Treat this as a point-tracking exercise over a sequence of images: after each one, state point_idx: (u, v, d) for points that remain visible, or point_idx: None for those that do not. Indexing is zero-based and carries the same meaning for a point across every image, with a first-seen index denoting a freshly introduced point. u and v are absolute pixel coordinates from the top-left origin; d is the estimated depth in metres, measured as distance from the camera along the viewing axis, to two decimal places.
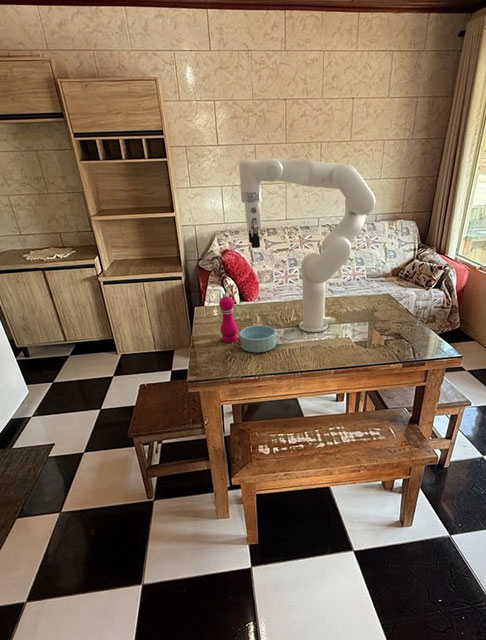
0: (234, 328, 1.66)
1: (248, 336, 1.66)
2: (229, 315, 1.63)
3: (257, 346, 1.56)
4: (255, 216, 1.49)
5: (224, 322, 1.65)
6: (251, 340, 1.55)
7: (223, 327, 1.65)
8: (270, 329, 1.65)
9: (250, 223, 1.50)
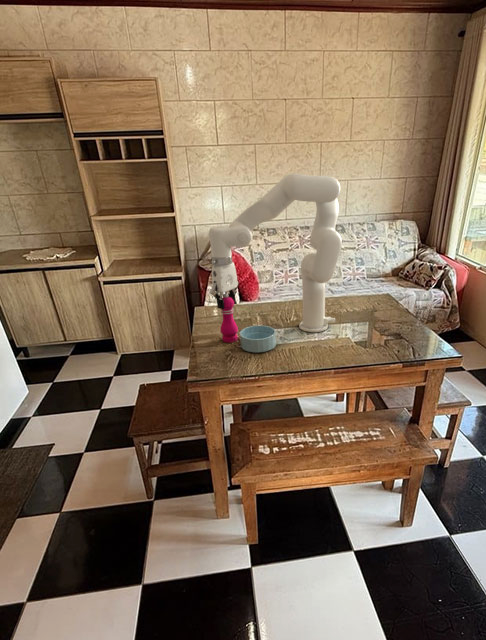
0: (234, 328, 1.66)
1: (248, 336, 1.66)
2: (229, 315, 1.63)
3: (257, 346, 1.56)
4: (215, 279, 1.54)
5: (224, 322, 1.65)
6: (251, 340, 1.55)
7: (223, 327, 1.65)
8: (270, 329, 1.65)
9: None
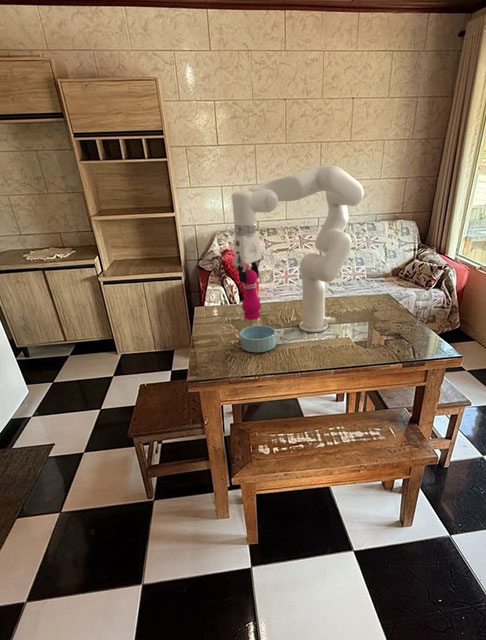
0: (257, 304, 1.55)
1: (248, 336, 1.66)
2: (252, 290, 1.52)
3: (257, 346, 1.56)
4: (238, 249, 1.42)
5: (246, 297, 1.54)
6: (251, 340, 1.55)
7: (246, 302, 1.54)
8: (270, 329, 1.65)
9: None
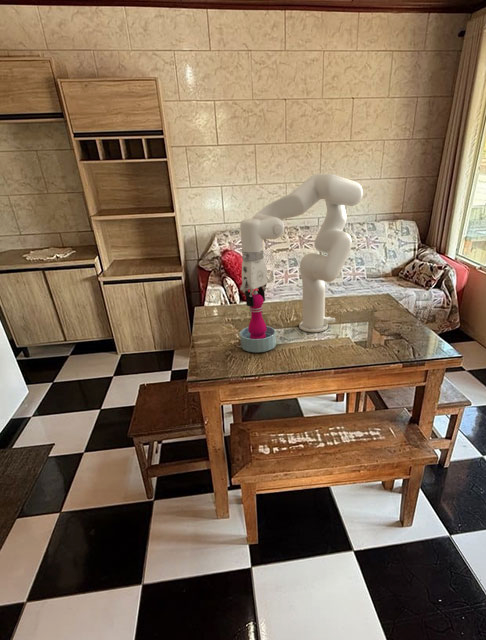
0: (263, 327, 1.58)
1: (248, 336, 1.66)
2: (258, 313, 1.55)
3: (257, 346, 1.56)
4: (246, 275, 1.46)
5: (253, 320, 1.57)
6: (251, 340, 1.55)
7: (252, 325, 1.57)
8: (270, 329, 1.65)
9: None
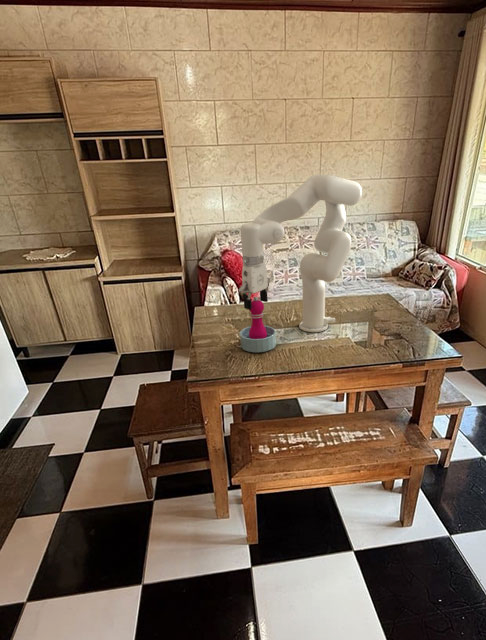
0: (264, 333, 1.59)
1: (248, 336, 1.66)
2: (259, 319, 1.57)
3: (257, 346, 1.56)
4: (246, 279, 1.46)
5: (253, 326, 1.58)
6: (251, 340, 1.55)
7: (253, 331, 1.58)
8: (270, 329, 1.65)
9: None
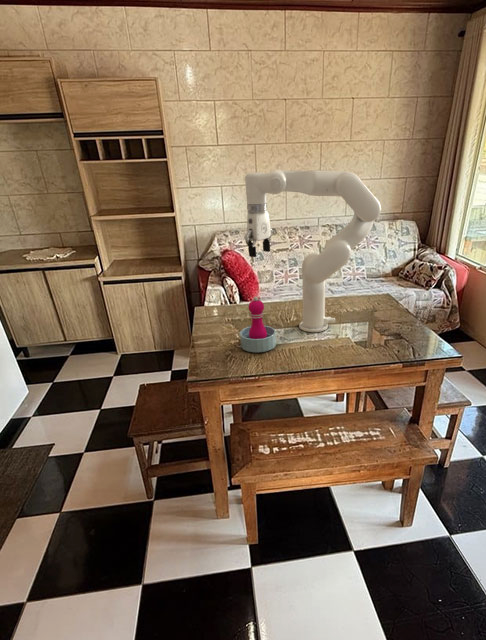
0: (264, 333, 1.59)
1: (248, 336, 1.66)
2: (259, 319, 1.57)
3: (257, 346, 1.56)
4: (251, 227, 1.54)
5: (253, 326, 1.58)
6: (251, 340, 1.55)
7: (253, 331, 1.58)
8: (270, 329, 1.65)
9: None
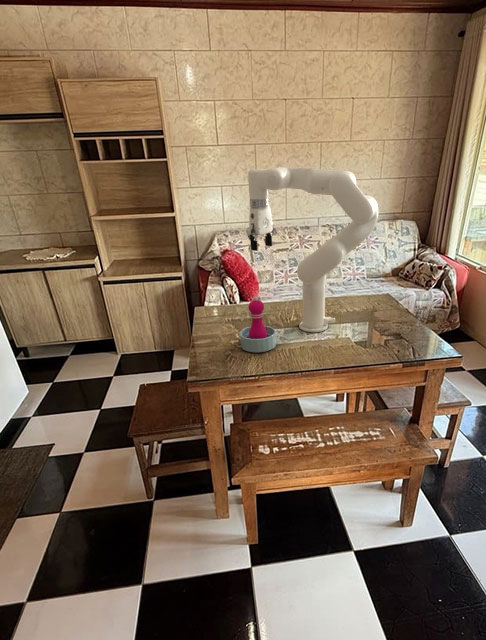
0: (264, 333, 1.59)
1: (248, 336, 1.66)
2: (259, 319, 1.57)
3: (257, 346, 1.56)
4: (253, 221, 1.60)
5: (253, 326, 1.58)
6: (251, 340, 1.55)
7: (253, 331, 1.58)
8: (270, 329, 1.65)
9: None
